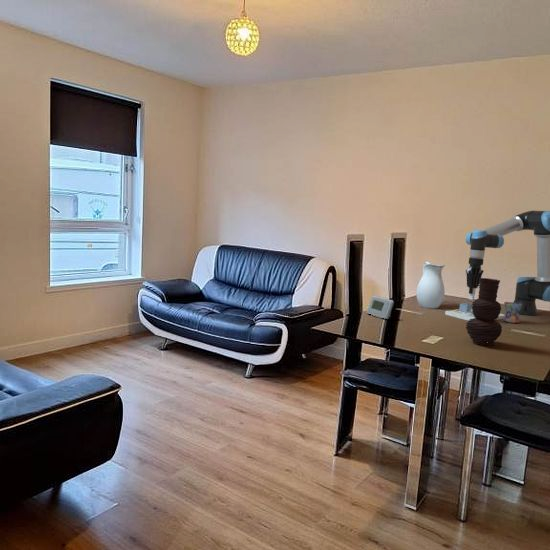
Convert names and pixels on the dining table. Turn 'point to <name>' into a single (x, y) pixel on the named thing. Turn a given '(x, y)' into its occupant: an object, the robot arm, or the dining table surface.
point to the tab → (465, 307)
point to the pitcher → (431, 286)
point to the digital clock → (380, 307)
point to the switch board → (466, 314)
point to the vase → (485, 314)
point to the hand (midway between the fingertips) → (471, 299)
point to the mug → (512, 312)
